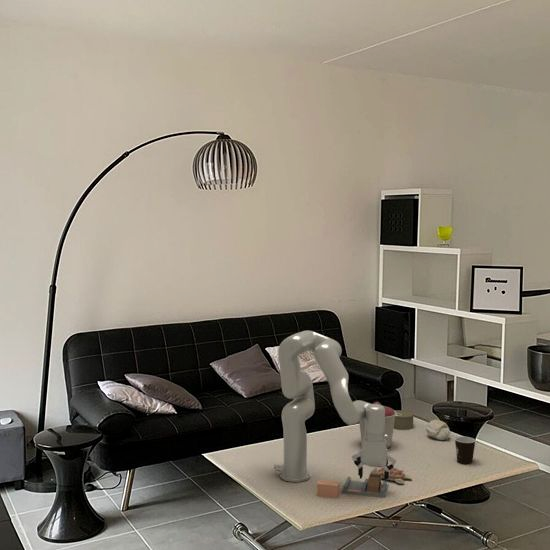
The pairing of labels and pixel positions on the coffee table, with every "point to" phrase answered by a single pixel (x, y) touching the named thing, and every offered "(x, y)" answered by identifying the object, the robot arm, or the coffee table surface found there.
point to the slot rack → (363, 488)
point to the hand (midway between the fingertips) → (373, 478)
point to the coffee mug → (464, 449)
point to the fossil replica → (438, 430)
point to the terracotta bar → (328, 489)
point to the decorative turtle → (393, 475)
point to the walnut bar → (374, 481)
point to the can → (403, 420)
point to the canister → (388, 424)
